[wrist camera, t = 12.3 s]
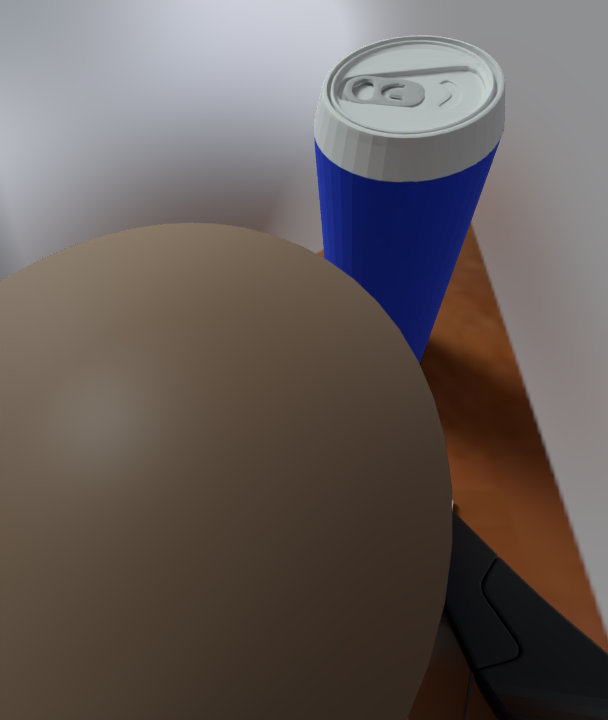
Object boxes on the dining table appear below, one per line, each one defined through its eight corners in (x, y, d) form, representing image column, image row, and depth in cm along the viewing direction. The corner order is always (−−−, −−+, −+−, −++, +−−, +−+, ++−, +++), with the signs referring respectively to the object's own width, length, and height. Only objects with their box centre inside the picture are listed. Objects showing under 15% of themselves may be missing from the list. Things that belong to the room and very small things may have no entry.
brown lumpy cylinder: (356, 642, 13) (401, 1340, 1) (218, 598, 14) (-430, 771, 2) (379, 489, 15) (470, 248, 3) (258, 462, 16) (23, 205, 4)
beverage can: (422, 323, 24) (513, 26, 10) (417, 400, 21) (525, 146, 8) (339, 314, 25) (327, 32, 11) (326, 387, 22) (292, 142, 9)
